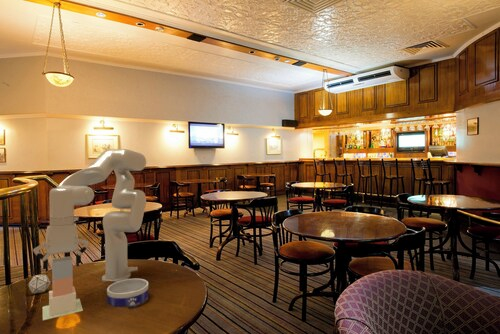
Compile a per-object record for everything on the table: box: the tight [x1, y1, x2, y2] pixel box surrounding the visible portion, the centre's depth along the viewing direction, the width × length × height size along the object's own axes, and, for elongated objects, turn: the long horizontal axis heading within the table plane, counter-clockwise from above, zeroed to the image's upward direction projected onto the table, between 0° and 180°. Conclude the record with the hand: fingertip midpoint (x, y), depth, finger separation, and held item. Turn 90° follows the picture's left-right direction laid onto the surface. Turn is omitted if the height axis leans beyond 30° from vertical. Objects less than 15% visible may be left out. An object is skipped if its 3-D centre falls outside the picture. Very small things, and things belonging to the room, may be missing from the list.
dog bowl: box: [106, 278, 149, 309], centre depth 120 cm, size 15×15×6 cm
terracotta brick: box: [51, 276, 74, 297], centre depth 111 cm, size 6×6×6 cm
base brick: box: [48, 286, 77, 316], centre depth 111 cm, size 8×8×6 cm
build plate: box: [42, 298, 84, 321], centre depth 111 cm, size 12×12×1 cm
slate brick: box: [51, 255, 74, 280], centre depth 111 cm, size 6×6×6 cm
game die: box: [25, 272, 52, 296], centre depth 127 cm, size 9×8×10 cm
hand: (62, 268), depth 111 cm, fingers open, 9 cm apart
